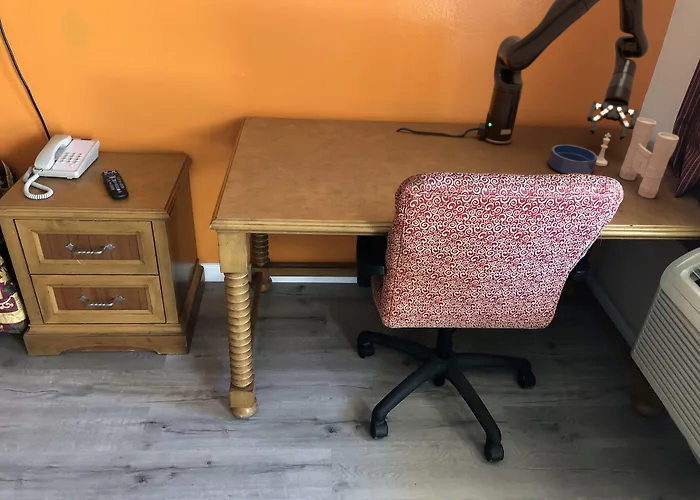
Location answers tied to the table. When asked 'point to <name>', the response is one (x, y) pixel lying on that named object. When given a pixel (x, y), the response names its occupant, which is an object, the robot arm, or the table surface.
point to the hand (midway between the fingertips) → (607, 136)
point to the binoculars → (648, 156)
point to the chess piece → (600, 158)
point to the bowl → (572, 159)
